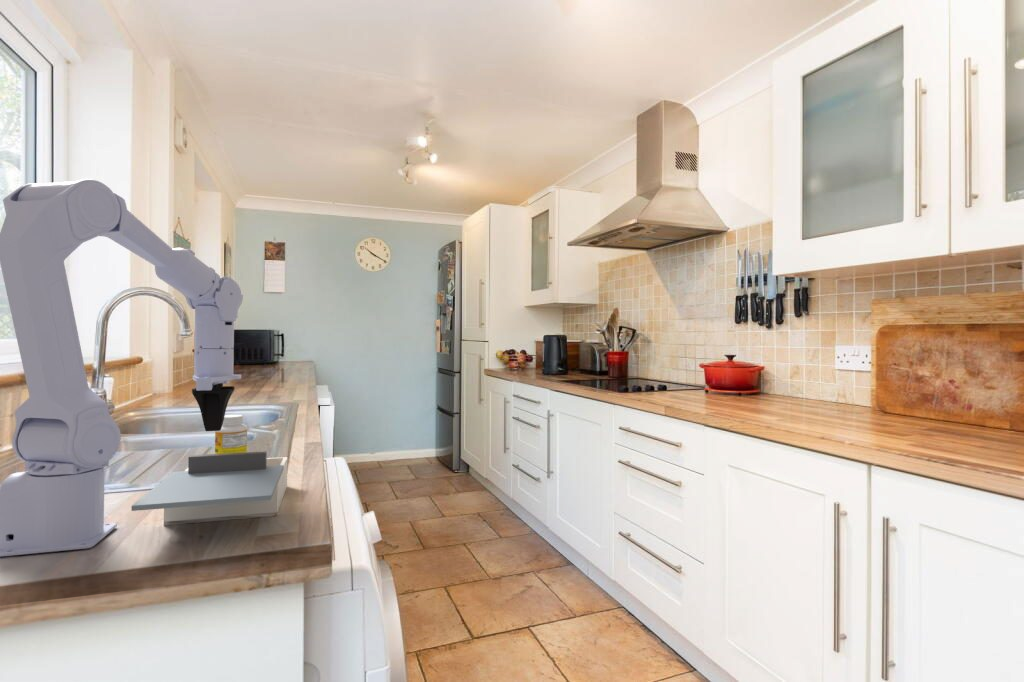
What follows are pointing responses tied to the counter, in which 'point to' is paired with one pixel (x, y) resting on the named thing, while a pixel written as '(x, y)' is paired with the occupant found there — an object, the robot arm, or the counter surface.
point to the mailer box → (232, 505)
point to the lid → (215, 482)
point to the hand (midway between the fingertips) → (213, 430)
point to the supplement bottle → (231, 436)
